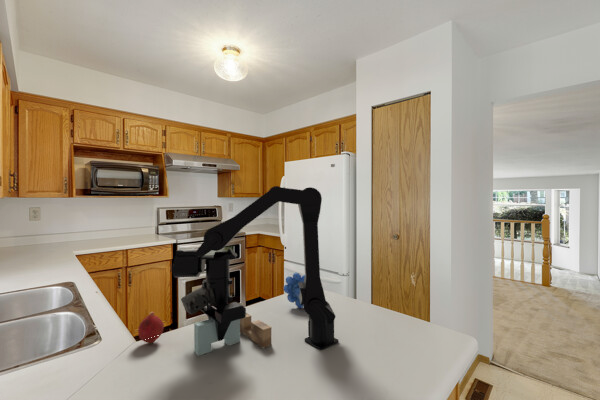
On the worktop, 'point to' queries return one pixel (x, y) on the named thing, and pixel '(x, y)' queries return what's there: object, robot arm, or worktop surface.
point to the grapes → (294, 288)
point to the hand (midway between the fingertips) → (218, 338)
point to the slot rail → (256, 331)
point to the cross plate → (213, 335)
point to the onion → (150, 328)
